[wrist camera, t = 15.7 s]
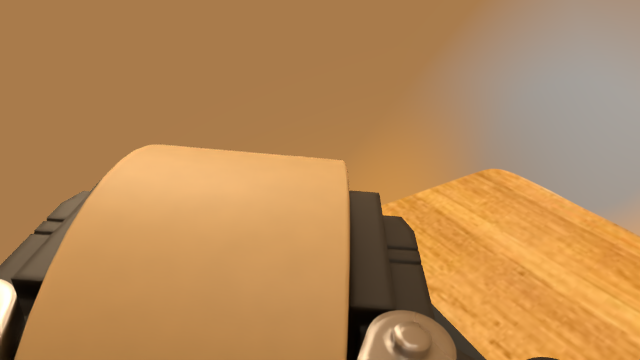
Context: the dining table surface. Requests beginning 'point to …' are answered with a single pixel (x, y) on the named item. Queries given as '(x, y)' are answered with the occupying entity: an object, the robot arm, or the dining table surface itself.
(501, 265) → the dining table surface
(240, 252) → the tape roll
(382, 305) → the robot arm
